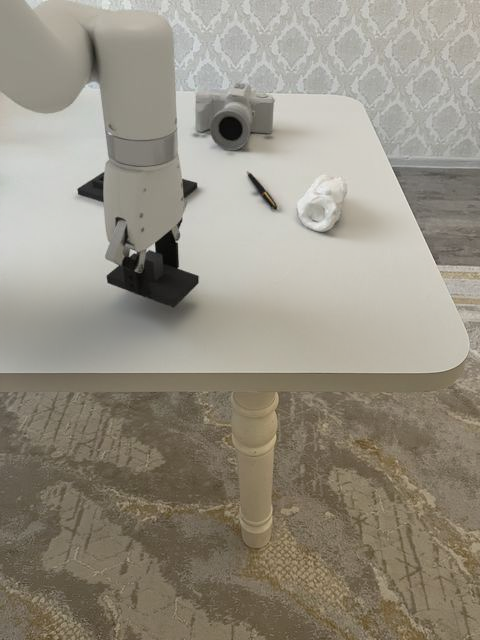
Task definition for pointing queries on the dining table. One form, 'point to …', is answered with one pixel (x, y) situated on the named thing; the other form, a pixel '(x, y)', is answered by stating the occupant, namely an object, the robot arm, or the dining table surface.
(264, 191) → the fountain pen
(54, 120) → the dining table surface
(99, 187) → the base pad
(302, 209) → the white hollow lump
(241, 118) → the digital camera
